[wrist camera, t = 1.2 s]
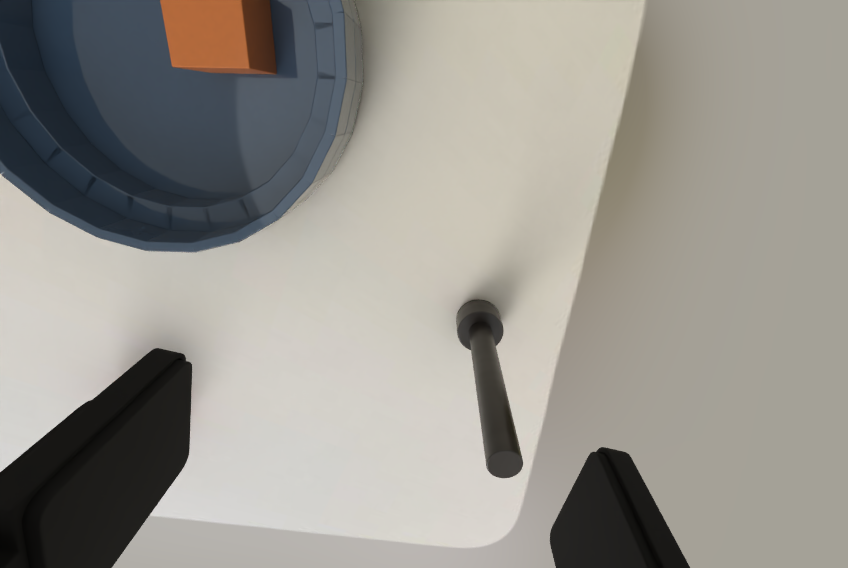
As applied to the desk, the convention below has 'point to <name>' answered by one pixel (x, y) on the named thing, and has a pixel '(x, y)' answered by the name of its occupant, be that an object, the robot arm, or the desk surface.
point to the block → (220, 35)
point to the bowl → (171, 120)
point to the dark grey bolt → (490, 386)
